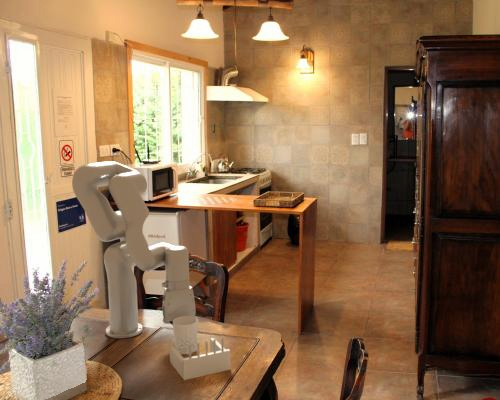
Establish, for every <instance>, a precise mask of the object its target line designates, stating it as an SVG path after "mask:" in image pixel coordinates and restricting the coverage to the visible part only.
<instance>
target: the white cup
mask: <svg viewBox="0 0 500 400" xmlns="http://www.w3.org/2000/svg"><path fill="white" fill-rule="evenodd" d="M198 321H199V320H198V318H197V317H196V316H195V317H192V316H182V317H177V318H175V319H174V320H173V325H172V327H173V328H172V329H173V330H172V331H173V341H174V347H175V348H176V349H177V351H178V352H179V353H180V354H181V355H189V344H191V355H192V354H194V353H196V351H197V343H198V330H199V329H198V323H199V322H198Z"/></svg>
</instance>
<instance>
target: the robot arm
mask: <svg viewBox="0 0 500 400" xmlns="http://www.w3.org/2000/svg"><path fill="white" fill-rule="evenodd" d="M71 185H72V186H71V187H72V189H73V191H72V192H73V193H74V195H75V197H76V199H77V200H78V202H79V204H80V205H81V207H82V208H83V210H84V212H85V214H86V215H85V216H87V218H88V221H89V223H90V225H91V227H92V229H93V231H94V233H95V235H96V237H97V238H98V239H99V240H100V241H101V242H104V243H107V242H112V241H115V240H120V241H119V242H115V243H114V244H113V243H112V245H110V246H108V248H107V249H106V250H105V251H104V254H103V262H104V263H103V264H104V267H105V271H106V277H107V290H108V311H109V312H108V313H109V325H108V326H107V327H106V328H105V334H106V336H108V337H110V338H112V339H127V338H132V337H135V336H138V335H140V334H141V333H142V332H143V331H144V329H143V327H144V325H142V324H141V323H139V313H138V311H139V309H138V288H137V279H136V276H135V273H134V271H133V267H137V268H138V269H139V270H141V271H144V272H150V271H153V270H156V269H158V268H159V267H163V266H164V267H165V281H164V282H162V283H161V287H162V288H164V289H163V297H162V316H163V318H162V323H163V324H165V325H166V324H169V325H172V326H173V320H174V319H175V318H177V317H182V316H192V317H195V318H196V313H197V312H196V311H197V310H196V302H195V301H196V300H195V294H194V290H193V287H192V286H191V285H190V266H189V265H190V261H189V260H190V259H189V255H190V253H189V249H188V247H186V246H185V245H184V246H183V245H173V244H171V243H167V242H163V241H162V242H157V243H155V244H151V245H149V244H148V241H147V239H146V237H145V235H144V233H143V229H144V224H145V221H146V219H147V218H148V217H149V216H150V215H149V214H150V210H149V208H148V206H147V204H146V203H145V200H144V199H143V197H142V195H143V194H145V193H146V191H147V188H148V182H147V179H146V177H145V176H144V175H143V174H142V173H141V172H139V171H137V170H136V169H134V168H131V167H128V166H127V165H124V164H121V163H119V162H116V161H112V160H111V161H110V160H106V161H98V162H90V163H86V164H83V165H80V166H79V167H78V168H76V170H75V171H74V173H73V175H72V178H71ZM102 187H103V188H104V187H108V190H109V193H110V194H111V197H112V199H113V201H114V203H115V205H116V206H117V208H118V210H115V211H114V209H113V208H112V206H111V204H110V201H109V200H108V198H107V197H106V196H105V195H104V194H103V193H102V192H101V191H100V190H99V189H98V188H102Z"/></svg>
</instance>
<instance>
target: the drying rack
mask: <svg viewBox="0 0 500 400" xmlns="http://www.w3.org/2000/svg"><path fill="white" fill-rule="evenodd" d="M220 342H221V343H220ZM220 342H219V341H217V339H216V338H215V337H211V338H209V343H208V340H205V353H204V354H200V342H197V350H196V351H197V355H194V356H192V354H191V344H189V354H188V356H187V357H184V356H182V355H183V354H180V353H179V352H178V351H177V349H176V348H175V345H171V346H169V362H170V364H171V366H172V367H173V368H174V369H175V370H176V372H177V373H178V374H179V375H180V377H181V378H182V380H184V381H186V380H192V379H196V378H200V377H204V376H209V375H213V374H217V373H222V372H226V371H230V370H232V369H231V350H230V349H229V348H227V349H226V347H224V346H225V345H224V337H221V341H220ZM208 344H209V349H210V350H209V351H210V352H208Z"/></svg>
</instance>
